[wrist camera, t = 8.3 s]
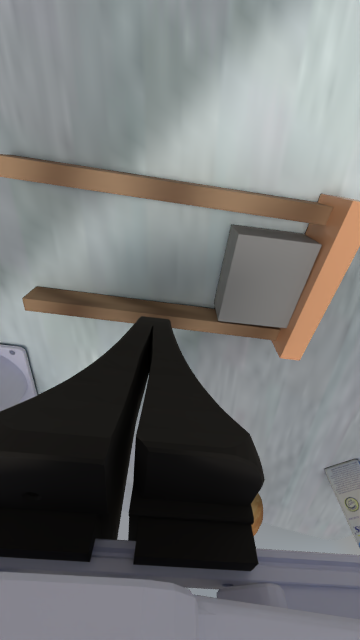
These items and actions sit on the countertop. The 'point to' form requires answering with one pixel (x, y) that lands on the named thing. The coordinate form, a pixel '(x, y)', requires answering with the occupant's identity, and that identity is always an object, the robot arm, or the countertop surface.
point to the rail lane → (323, 217)
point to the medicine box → (347, 492)
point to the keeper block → (263, 275)
